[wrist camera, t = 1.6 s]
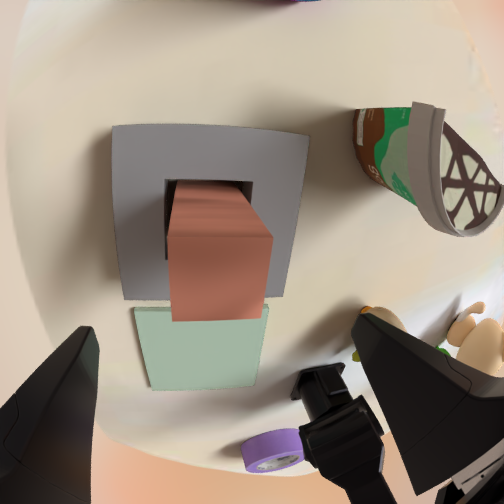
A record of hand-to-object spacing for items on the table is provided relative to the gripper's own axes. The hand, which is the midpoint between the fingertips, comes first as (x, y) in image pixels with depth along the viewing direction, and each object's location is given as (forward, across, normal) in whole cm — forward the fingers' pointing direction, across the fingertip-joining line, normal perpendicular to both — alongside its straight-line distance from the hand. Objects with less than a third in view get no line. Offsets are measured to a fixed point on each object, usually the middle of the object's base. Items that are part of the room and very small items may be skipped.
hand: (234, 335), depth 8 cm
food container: (+13, -15, -5) cm, 21 cm away
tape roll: (+13, -12, +43) cm, 47 cm away
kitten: (+13, -44, +19) cm, 50 cm away
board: (+13, 0, +15) cm, 20 cm away
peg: (+13, 0, 0) cm, 13 cm away
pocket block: (+13, 0, 0) cm, 13 cm away
